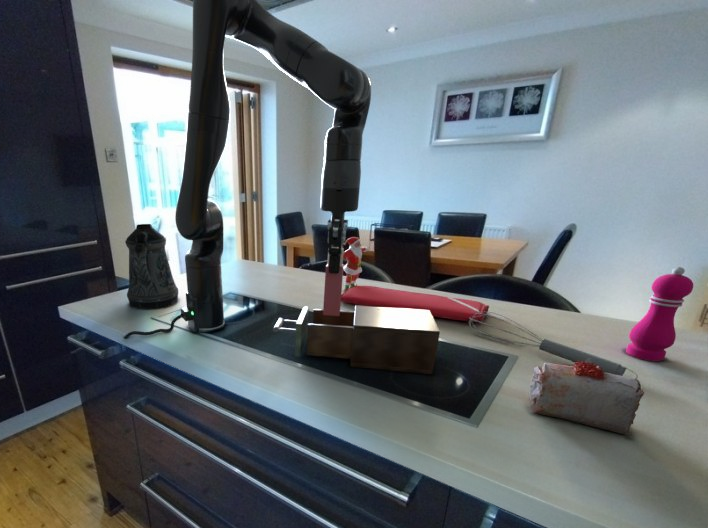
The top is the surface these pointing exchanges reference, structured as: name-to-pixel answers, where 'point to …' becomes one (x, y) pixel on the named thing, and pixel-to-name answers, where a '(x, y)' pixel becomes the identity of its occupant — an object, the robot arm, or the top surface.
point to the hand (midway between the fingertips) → (334, 270)
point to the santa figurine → (353, 261)
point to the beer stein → (149, 270)
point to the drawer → (322, 333)
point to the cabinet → (394, 339)
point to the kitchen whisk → (562, 350)
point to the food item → (586, 395)
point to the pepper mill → (660, 317)
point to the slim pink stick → (333, 289)
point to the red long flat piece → (416, 302)
